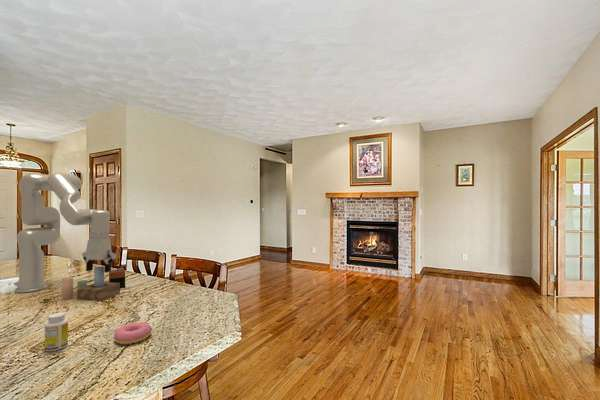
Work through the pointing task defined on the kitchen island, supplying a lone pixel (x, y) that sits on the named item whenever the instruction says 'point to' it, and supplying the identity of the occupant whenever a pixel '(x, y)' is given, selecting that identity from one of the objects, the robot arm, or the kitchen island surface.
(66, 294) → the medium dowel
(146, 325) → the doughnut
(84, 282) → the short dowel
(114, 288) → the hole block
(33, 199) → the robot arm
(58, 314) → the supplement bottle
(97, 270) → the tall dowel
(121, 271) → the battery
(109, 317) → the kitchen island surface
